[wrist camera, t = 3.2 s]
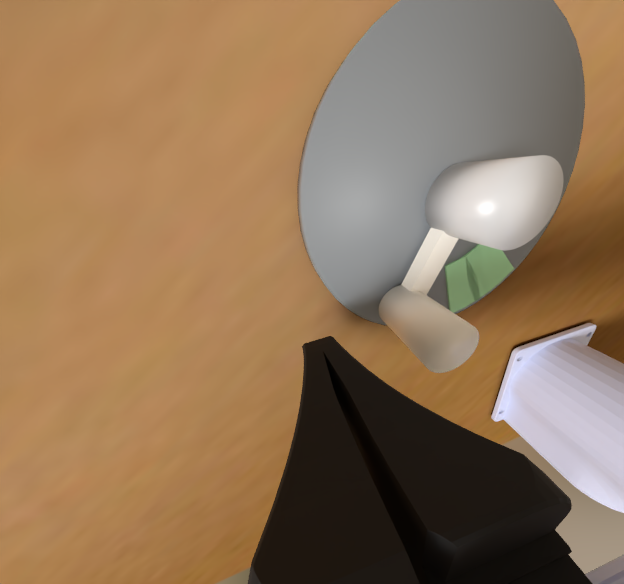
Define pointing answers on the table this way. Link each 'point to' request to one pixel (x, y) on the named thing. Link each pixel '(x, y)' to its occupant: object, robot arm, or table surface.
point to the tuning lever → (474, 228)
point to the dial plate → (432, 138)
